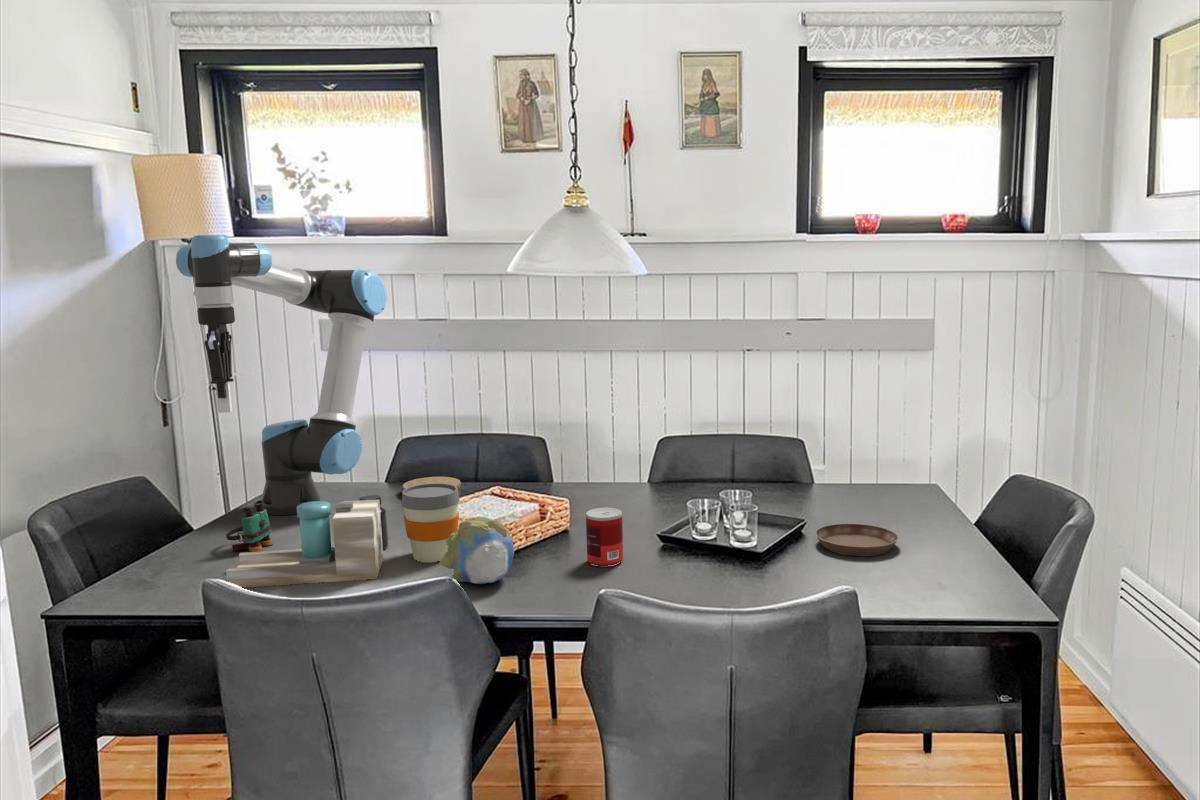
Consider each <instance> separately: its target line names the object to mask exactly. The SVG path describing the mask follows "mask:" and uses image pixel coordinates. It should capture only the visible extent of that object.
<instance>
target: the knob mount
mask: <svg viewBox="0 0 1200 800" xmlns="http://www.w3.org/2000/svg"><path fill="white" fill-rule="evenodd" d="M335 506H336V507H335V513H334V515H333V516H332V527H333V528H332V529H333V543H334V548H335V559H334V561H333V562H325V563H309V564H300V563H299V560H300V558H301V556H302V548H298V549H284V550H266V551H265V550H261V551H259V552H251V551H249V552H247V551H246V552H239V554H238V562H239V564H238V565H237V567H229V568H227V569H226V571H225V573H226V581H228V582H231V583H234V584H237V585H239V586H242V587H244V588H256V587H257V588H258V587H274V585H276V586H291V585H290V584H292V585H304V584H303V583H308V584H319V582H320V583H321V582H324V583H335V582H338V583H339V582H350V581H351V582H354V581H355V580H356V581H368V580H367V579H371V580H378V577H377V576H379V574H378V573H380V571H379V570H381V567H382V563H383V561H384V550H383V545H382V530H381V515H380V499H379V500H361V501H359V500H347V501H346V500H344V501H341V502H338V503H337V504H336V505H335ZM353 580H354V581H353ZM356 581H355V582H356Z"/></svg>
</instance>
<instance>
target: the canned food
mask: <svg viewBox="0 0 1200 800" xmlns="http://www.w3.org/2000/svg"><path fill="white" fill-rule="evenodd" d="M585 513H586V514H585V530H586V536H585V537H586V560H587V562H589V563H590V564H594V565H598V566H608V565H614V564H617V563H619V562H621V561H623V559H624V544H623V543H624V537H623V536H624V535H623V531H624V530H623V528H624V527H623V512H622V510H621V509H618V508H615V507H597V508H592V509H590V510H588V511H587V512H585ZM589 563H588V564H589ZM621 563H622V562H621ZM590 564H589V565H590Z"/></svg>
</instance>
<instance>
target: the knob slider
mask: <svg viewBox="0 0 1200 800" xmlns="http://www.w3.org/2000/svg"><path fill="white" fill-rule="evenodd" d="M331 514H332V510H331V503H330V501H329V502H328V501H325V500H320V501H313V502H306V503H302V504H300V505H298V506H297V514H296V515H297V517H296V518H298V519H299V528H300V541H301V549H302V556H301V558H300V560H299V563H300V564H309V563H325V562H333V561H334V559H335V548H334V547H335V546H334V547H332V537H331V523H330V522H331V520H330V515H331Z"/></svg>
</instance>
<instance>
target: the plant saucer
mask: <svg viewBox="0 0 1200 800" xmlns="http://www.w3.org/2000/svg"><path fill="white" fill-rule="evenodd" d="M815 536H816V537H817V540H818V541H819V543H821V545H822V546H823V547H824V548H825V549H826V550H829V551H830V552H833V553H837V554H840V555H843V556H851V557H852V556H853V557H873V556H879V555H883V554H885V553H887V552H888V551H890V550H891V549H892V548H893V547H894V546H895V544H896V543H897V542H898V541H899V535H897V533H896V532H894V531H892V530H890V529H887V528H884V527H880V526H877V525H876V526H875V525H871V524H863V523H862V524H861V523H836V524H829V525H825V526H822V527H819V528H818V529H816V531H815Z"/></svg>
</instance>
